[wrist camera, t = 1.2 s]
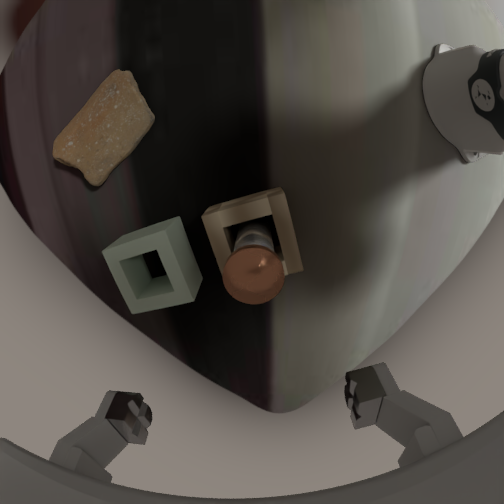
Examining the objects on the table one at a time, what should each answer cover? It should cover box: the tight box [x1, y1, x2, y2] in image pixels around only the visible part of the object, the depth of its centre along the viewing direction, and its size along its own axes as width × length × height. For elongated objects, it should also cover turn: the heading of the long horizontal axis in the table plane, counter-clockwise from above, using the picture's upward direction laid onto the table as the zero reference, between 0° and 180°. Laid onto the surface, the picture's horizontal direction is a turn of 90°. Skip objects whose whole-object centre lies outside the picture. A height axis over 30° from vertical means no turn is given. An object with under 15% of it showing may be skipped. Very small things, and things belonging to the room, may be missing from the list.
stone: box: [53, 70, 155, 186], centre depth 28 cm, size 11×16×3 cm
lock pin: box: [223, 217, 285, 304], centre depth 28 cm, size 5×5×13 cm
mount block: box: [201, 187, 304, 277], centre depth 32 cm, size 9×9×5 cm
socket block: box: [102, 216, 203, 314], centre depth 33 cm, size 9×9×6 cm
